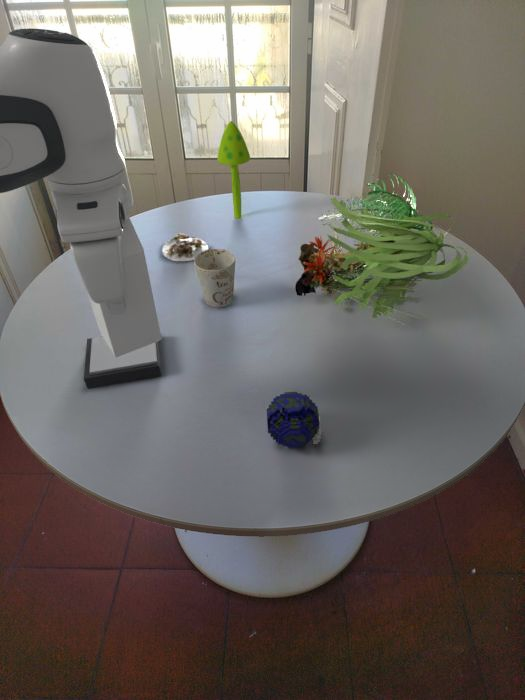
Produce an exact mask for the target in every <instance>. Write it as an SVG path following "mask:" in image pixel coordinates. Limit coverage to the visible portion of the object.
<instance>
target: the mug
mask: <svg viewBox="0 0 525 700" xmlns="http://www.w3.org/2000/svg"><path fill="white" fill-rule="evenodd" d="M193 265H194V268H195V272H196V275H197V278H198V282H199V285H200V288H201V292H202V295H203V298H204V302H205V304H206V305H207V306H209V307H211V308H214V309H215V308H216V309H217V308H220V309H221V308H224V307H227V306H229V305H230V304H232V303H233V300H234V291H235V290H234V289H235V274H236V273H235V272H236V257H235V254H234V253H233V252H231V251H229V250H228V249H227V250H226V249H221V248H212V249H209V250H207V251H204V252H202V253H200V254H198V255H197V256H196V257H195V259H194V260H193Z"/></svg>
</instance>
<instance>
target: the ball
mask: <svg viewBox="0 0 525 700" xmlns="http://www.w3.org/2000/svg"><path fill="white" fill-rule="evenodd" d="M266 423H267V425H266V426H267V433H268V434H270V438H272V440H273V441H275V443H277V445H282V446H283V447H287V448H289V449H291V448H292V449H293V448H301V447H302V446H306V444H308V443H310V442H312V444H313V445H319V443H320V442H321V439H322V435H321V433H322V424H321V416H320V414H319V408H318V405H316V403H315V402H313V399H310V396H308V394H303V393H301V392H299V393H298V391H285V392H284V393H281V394H279V395H276V396H275V397H273V399H272V401H270V404H268V408H266Z"/></svg>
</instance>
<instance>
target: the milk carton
mask: <svg viewBox="0 0 525 700" xmlns="http://www.w3.org/2000/svg"><path fill="white" fill-rule="evenodd" d="M120 249H121V255H122V260H123V263H124V267H125V282H124V291H125V295H124V300H125V304H126V312H125V313H124V314H118V315H114V314H112V313H111V309H110V306H109V304H108V303H95V302H94V301H93V300H92V299H91V298H90V296H89V295H88V294H87V296H88V299H89V302H90V305H91V308H92V312H93V315H94V318H95V322H96V325H97V329H98V331H99V333H100V335H101V336H103V338H104V339H105V341H106V343H107V344H108V346H109V348H110V349H111V351H112V352H113V354H114V356H115V357H119V356H121V355H124V354H127V353H129V352H132V351H134V350H137V349H140V348H142V347H145V346H147V345H150V344H152V343H155V342H158V341H159V342H160V341H162V339H163V338H162V333H161V328H160V325H159V319H158V313H157V308H156V303H155V298H154V294H153V289H152V284H151V279H150V274H149V269H148V264H147V259H146V254H145V249H144V246H143V244H142V243H141V240H140V238H139V236H138V234H137V232H136V229H135V227H134V225H133V223H132V220H131V218H130V213H129V212H128V215H127V217H126V219H125V222H124V229H123V234H122V236H121V240H120Z"/></svg>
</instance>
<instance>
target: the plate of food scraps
mask: <svg viewBox="0 0 525 700" xmlns="http://www.w3.org/2000/svg"><path fill="white" fill-rule="evenodd" d="M207 250H210V248H209V246H208V244H207V242H205V241H204V240H202V239H201V238H199V237H195V236H191V237H190V236H189V235H187V234H185V233H182V232H178V234H174V236H173V237H172V238H171V239H169V240H167V241H166V242H165V243H164V245H163V246H162V247H161V253H162V255H163V256H164V257H165V258H167V260H170V261H172V262H177V263H179V262H191V261H194V259H195V257H196V256H197V255H198V254H200V253H202V252H204V251H207Z"/></svg>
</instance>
